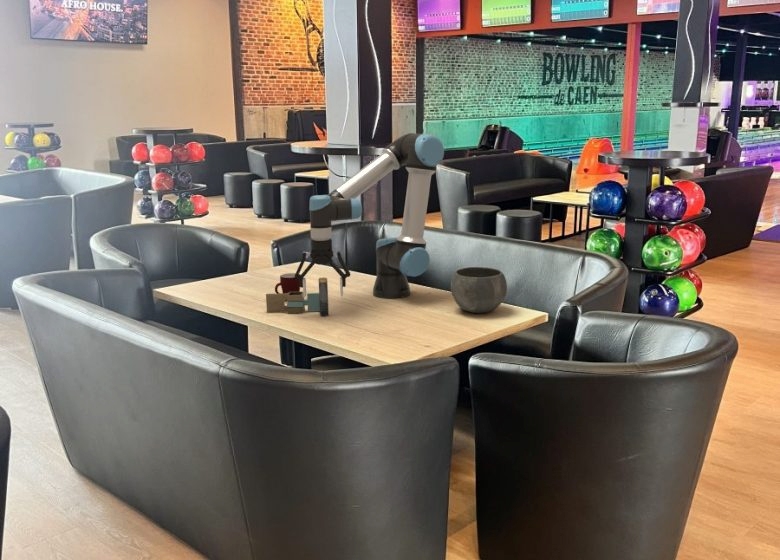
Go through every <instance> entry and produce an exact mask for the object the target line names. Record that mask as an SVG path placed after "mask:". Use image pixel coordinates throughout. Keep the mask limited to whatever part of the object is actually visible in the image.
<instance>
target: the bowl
mask: <svg viewBox="0 0 780 560" xmlns="http://www.w3.org/2000/svg"><path fill="white" fill-rule="evenodd" d="M507 291H508V283H507V280H506V277H505V274H504V273H503V271H501V270H500V269H497V268H492V267H481V266H479V267H478V266H473V267H472V266H470V267H463V268H459V269H457V270H456V271H455V272H454V274H453V276H452V277H451V281H450V292H451V295H452V298H453V299H454V302H455V303H456V304H457V306H458V307H459V308H461V309H462V310H464V311H466V312H470V313H473V314H475V313H476V314H484V313H489V312H491V311H493V310H495V309H497V308H498V307H499V306H500V305H501V304H502V303H503V301H504V300H505V298H506V295H507Z"/></svg>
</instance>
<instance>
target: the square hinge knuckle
mask: <svg viewBox="0 0 780 560" xmlns="http://www.w3.org/2000/svg"><path fill="white" fill-rule="evenodd" d="M303 299H305V297H303V291H300V292H288V293H283V292H281V293H280V292H279V293H278V294H277V293H266V294H265V302H266V313H287V314H288V315H291V314H293V315H295V314H299V315H300V314H304V313H305V310H306V309H305V308H306V307H305V306H306V305H304V306H303V307H287V305H285V301H303Z"/></svg>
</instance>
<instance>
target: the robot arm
mask: <svg viewBox="0 0 780 560" xmlns="http://www.w3.org/2000/svg"><path fill="white" fill-rule="evenodd" d="M444 147H445V146H444V145H443V142H442V141H441V139H440V138H439V137H437V136H436V135H434V134H429V133H412V132H410V133H406V134H403V135H401V136H400V137H398V138H397V139H395V140H394V141H392V142H391V143H390V144H388V145H386V146H385V147H384V148H383V149H382V151H381V154H380V155H378V156H376V157H375V158H374V159H373V160H371V161H370V162H369V163H368V164H366V165H365V166H364V167H362V168H361V169H360V170H358V171H357V172H356V173H355V174H353V175H352V176H350V177H349V178H348V179H347V180H346V181H344V182H343V183H342V184H341V185H339V186H338V187H337V188H335V189H333V190H332V191H331V192H330V193H328V194H322V195H321V194H320V195H319V194H317V195H316V194H315V195H312V196H310V198H309V207H308V208H309V220H310V226H309V228H310V230H309V231H310V238H311V240H310V252H307V251H306V250H305V251H303V253H302V256H301V257H302V259H301V261H300V263H299V265H298V267H297V270H296V271H295V273H296V274H295V278H299V279H300V289H301V288H302V292H303V297H304V298H307V279H306V277H305V276H307V274H308V272H309V271H311V269H312V268H313V267H314V266H315V264H317V265H327V264H328V265H329V266H331V267H332V268H333V270H334V271H335V272H336V273H337V274H338V275H339V276H340V279H339V289H340V290H339V291H340V297H343V296H344V289H343V288H346V285H347V284H346V283H347V281H346V279H347V278H349V277H351V272H350V270H349V268H348V266H347V265H346V263H345V261H344V259H343V257H342V252H341V250H338V251H333V240H332V237H333V235H332V232H333V231H332V222H337V221H347V220H348V221H349V220H351V221H352V220H357V219H360V218H361V216H362V213H363V207H362V206H363V205H362V203H361V200H359V199H358V197H359V196H361V195H362V194H364V193H365V192H366V191H367V190H368V189H370V188H371V187H373V186H374V185H375V184H376V183H378V182H379V181H380V180H382V179H383V178H384V177H385V176H387V175H388V174H389V173H391V172H392V171H394V170H395V171H396V170H399V169H401V167H403V166H405V170H406V171H407V172H408V176H407V177H408V178H407V186H406V195H405V202H404V210H403V218H402V224H401V234H400V236H398V237H387V238H386V237H385V238H379V239H378V240H377V241H376V243H375V254H376V255H375V256H376V258H375V259H376V277H375V282H374V284H373V288H372V295H373V296H374V297H377V298H382V299H399V298H405V297H407V296H409V295H410V294H411V288H410V287H411V286H410V285H409V281H408V277H418V276H421V275H423V273H425V272H426V271H427V269H428V267H429V265H430V259H431V258H430V254H429V252H428V251H427V249H426V248H427V242H426V240H425V238H424V234H425V228H426V227H425V226H426V217H427V209H428V203H429V197H430V188H431V181H432V180H431V179H432V176H433V175H434V174H435V173H436V171H437V166H438V165H440V163H441V162H442V161H443V159H444V155H445V148H444ZM334 256H335V258H336V259H337V261H338V262H339V264H340V266H341V268H342V269H343V270H342V269H340V267H339V266H338V264H336V263H335V262H334V260H333V257H334ZM309 257H310V258H311V259H312V260H311V262H310V263H309V264H308V265H307V267H306V268H305V269H304V270H303V272H302V273H301V271H302V268H303V266H304V264H305V262H306V260H307V259H308V258H309ZM300 273H301V274H300Z"/></svg>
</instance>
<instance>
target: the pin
mask: <svg viewBox="0 0 780 560" xmlns="http://www.w3.org/2000/svg"><path fill="white" fill-rule="evenodd" d="M328 288H329V287H328V277H319V278H318V293H319V304H320V311H319V317H325V318H326V317H329V315H330V314H329V313H330V312H329V290H328Z"/></svg>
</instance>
